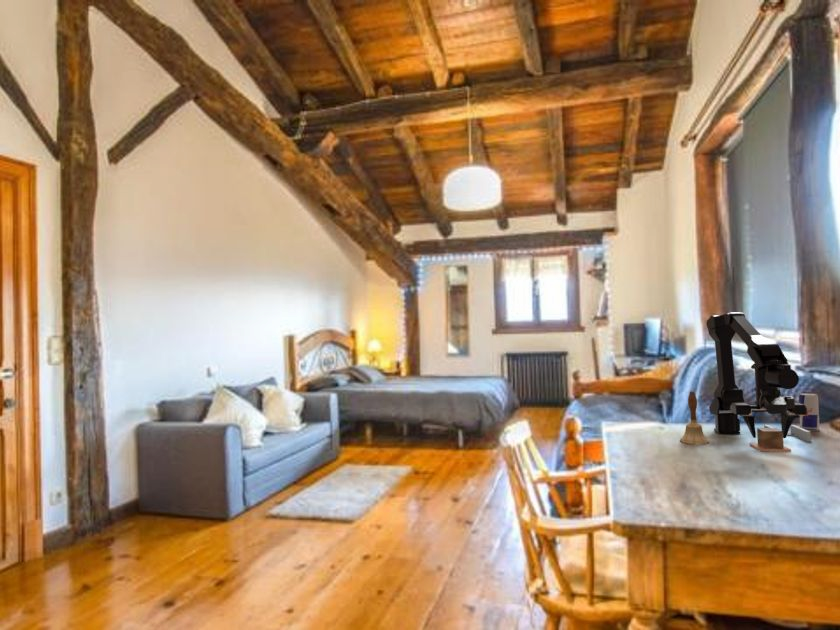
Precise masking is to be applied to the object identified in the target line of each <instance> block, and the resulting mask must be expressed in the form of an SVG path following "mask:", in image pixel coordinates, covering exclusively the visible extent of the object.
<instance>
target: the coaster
mask: <svg viewBox="0 0 840 630" xmlns="http://www.w3.org/2000/svg"><path fill="white" fill-rule="evenodd" d="M749 446H751V447H752V446H753V448H754V447H755V448H754V449H755V450H757V449H758V450H757V451H759V450H760V451H759V452H790V453H791V452H792V449H791V448H789V447H787V446H786V445H784V449H764V448H763V447H761V446H759V445H758V442H749Z"/></svg>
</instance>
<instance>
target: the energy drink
mask: <svg viewBox="0 0 840 630" xmlns="http://www.w3.org/2000/svg"><path fill="white" fill-rule="evenodd" d="M798 403H800V404H803V405H805V406H806V407H807V411H808V415H799V416H800V417H799V427H801V428H803V429H805V430H808V431H810V432H818V431H820V411H819V397H818V394H817V393H810V392H806V393H805V392H801V393H798Z"/></svg>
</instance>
